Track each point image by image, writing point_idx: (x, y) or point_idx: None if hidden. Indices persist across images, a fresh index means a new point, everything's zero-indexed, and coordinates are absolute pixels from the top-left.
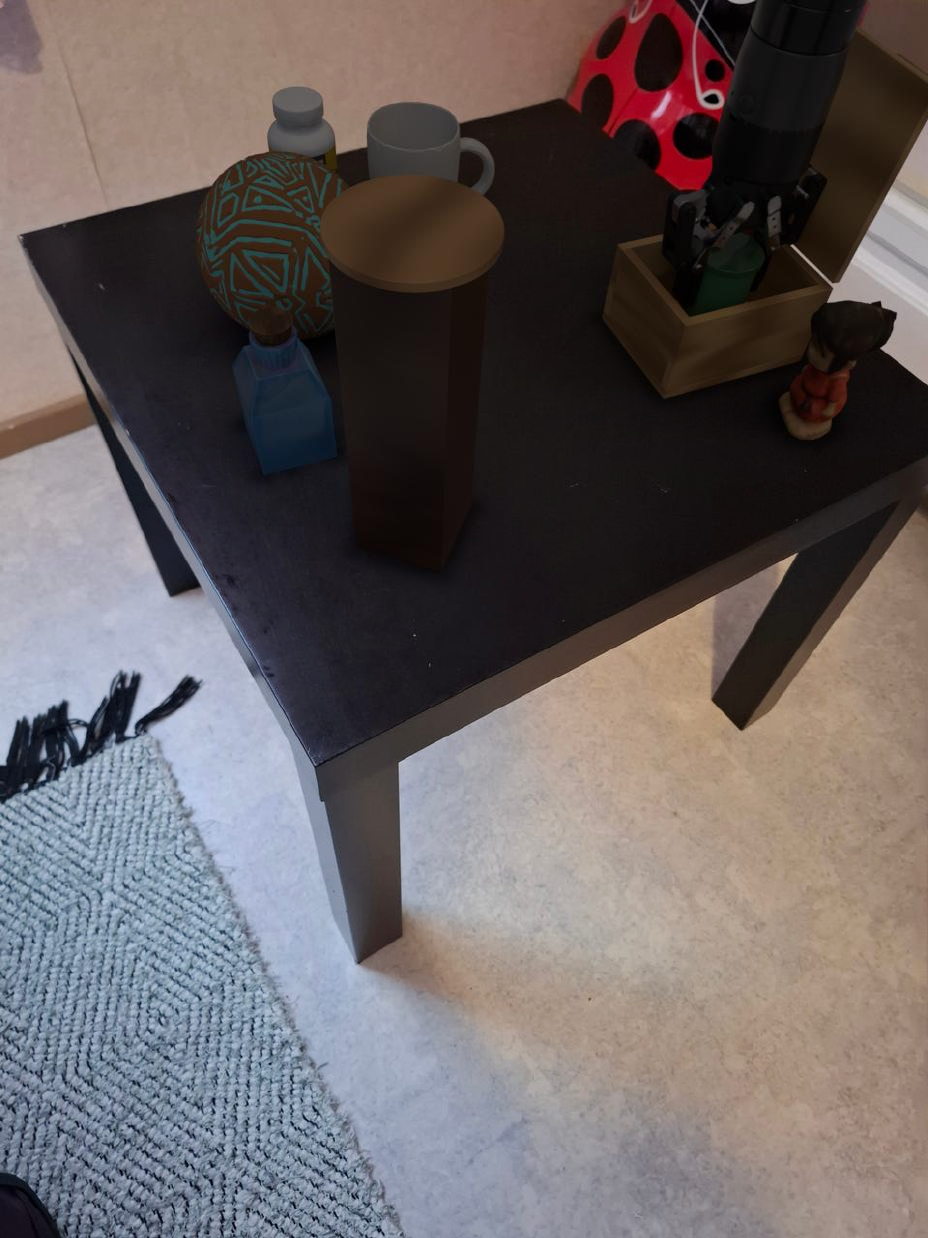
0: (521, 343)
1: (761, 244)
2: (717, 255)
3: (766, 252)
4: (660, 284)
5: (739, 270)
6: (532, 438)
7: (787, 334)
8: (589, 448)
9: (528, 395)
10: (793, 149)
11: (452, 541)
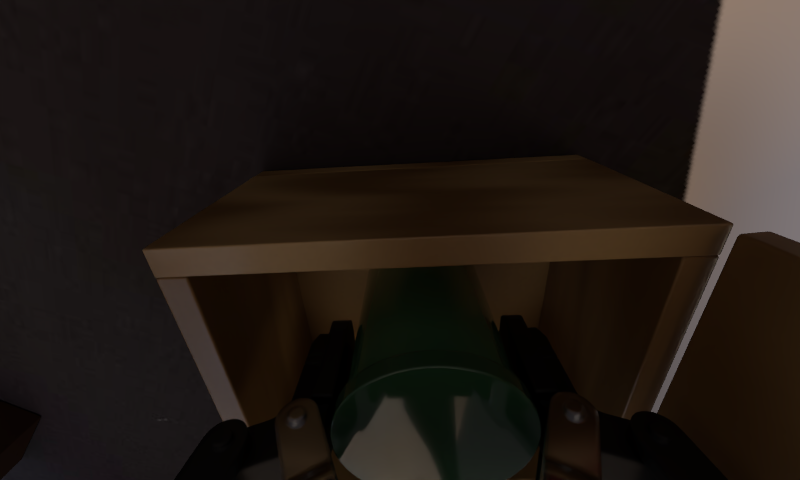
0: (92, 191)
1: (543, 445)
2: (386, 451)
3: (538, 454)
4: (237, 410)
5: None
6: (113, 361)
7: None
8: (187, 388)
9: (107, 299)
10: None
11: (15, 457)
